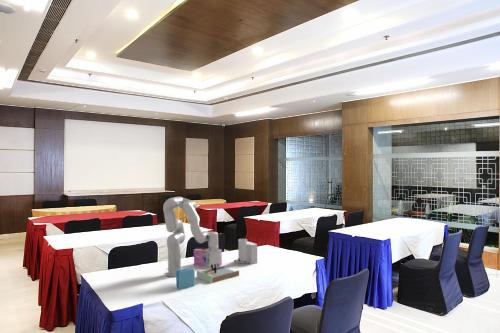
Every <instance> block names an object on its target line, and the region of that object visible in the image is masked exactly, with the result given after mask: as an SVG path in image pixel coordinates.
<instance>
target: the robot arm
mask: <svg viewBox="0 0 500 333" xmlns="http://www.w3.org/2000/svg"><path fill="white" fill-rule="evenodd" d="M197 206H198V205H197V204H196V202H195V201H194V200H191V199H188V198H186V197H182V196H175V197H170V198H168V199H166V200H165V202H164V203H163V206H162V207H163V208H162V210H163V216H164V222H165V228H166V231H167V232H168V233H171V234H170V235H168V236H167V238H166V246H167V268H166V270H167V272H166V275H165V276H167V277H169V278H176V272H177V271H178V270H182V268H181V266H182V264H181V262H182V260H181V259H182V258H181V257H182V256H181V255H182V254H181V247H180V245H181V244H182V243H184V242H185V240H186V234H185V228H184V224H183V221H182V219H180V218H177V216H176V215H177V214H176V212H175V209H178V208H181V210H182V211H183V214H184V216H185V217H186V219H187V221H188V223H189V227H190V232H191V235H192V236H193V238H194V239H195V242H196V243H198V244H203V243H205V242H207V244H208V245H207V246H208V247H206V248H207V250H209V251H208V254H207V263H208V266H207V267H210V266H211V267H210V269H212V270H214V273H216V268H217V266H218V264H220V262H221V254H220V250H219V249H220V248H219V233H218V232H217V231H208V230H203V231H202V230H201V227H200V220H201V219H200V216H199V214H198V213H197V210H196V209H197Z"/></svg>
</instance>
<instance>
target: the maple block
mask: <svg viewBox="0 0 500 333" xmlns="http://www.w3.org/2000/svg"><path fill="white" fill-rule="evenodd" d="M211 269H212V268H210V270H209V269H205V270H206V271H205V270H203V271H204V273H206V274H209V275H211V276H212V277H213V276H215V274H214V270H211Z"/></svg>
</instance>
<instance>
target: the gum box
mask: <svg viewBox="0 0 500 333" xmlns="http://www.w3.org/2000/svg"><path fill="white" fill-rule="evenodd" d="M207 248H208V247H196V248H195V249H193V266H195V267H197V266H198V267H210V268H211V266H208V263H207V254H208V251H209V250H207ZM219 250H220V254H221V262H220V264H218V266H217V267H221V266H223V263H222V262H223V256H222V253H223V252H222V250H223V249H222V248H219Z"/></svg>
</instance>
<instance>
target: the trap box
mask: <svg viewBox="0 0 500 333" xmlns="http://www.w3.org/2000/svg"><path fill="white" fill-rule="evenodd" d="M210 269H211V270H212V268H210ZM210 269H208V270H210ZM206 270H207V269H205V270H201V271H200V270H198V269H197V270H196V278H198V279H200V280H202V281H205V282H207V283H210V284H214V283H216V282H219V281H220V282H221V281H224V280H228V279H231V278H234V277H239V276H240V270H232V269H229V268H226V265H221V266H220V267H217V268H216V273H214V274H215V276H213V277H212V276H211V275H209V274H206V273H204V271H206Z"/></svg>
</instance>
